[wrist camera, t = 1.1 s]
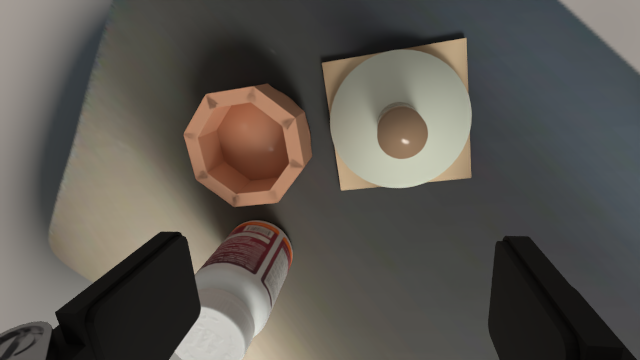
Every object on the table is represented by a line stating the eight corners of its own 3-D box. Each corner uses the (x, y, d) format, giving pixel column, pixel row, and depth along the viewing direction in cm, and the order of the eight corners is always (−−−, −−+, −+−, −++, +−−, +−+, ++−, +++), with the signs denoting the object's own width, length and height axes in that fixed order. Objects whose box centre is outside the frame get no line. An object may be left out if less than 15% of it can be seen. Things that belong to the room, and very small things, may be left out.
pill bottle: (216, 240, 32) (138, 326, 22) (263, 205, 30) (202, 280, 20) (259, 288, 33) (204, 393, 23) (308, 256, 31) (272, 355, 21)
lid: (466, 37, 24) (489, 31, 19) (471, 177, 26) (492, 204, 22) (322, 62, 26) (308, 62, 21) (341, 190, 28) (333, 217, 24)
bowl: (301, 77, 27) (288, 80, 23) (319, 182, 29) (310, 199, 25) (200, 94, 28) (173, 99, 24) (225, 191, 31) (204, 209, 27)
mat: (464, 38, 24) (466, 37, 24) (469, 176, 27) (471, 177, 26) (322, 62, 26) (321, 63, 26) (341, 188, 29) (341, 190, 28)
